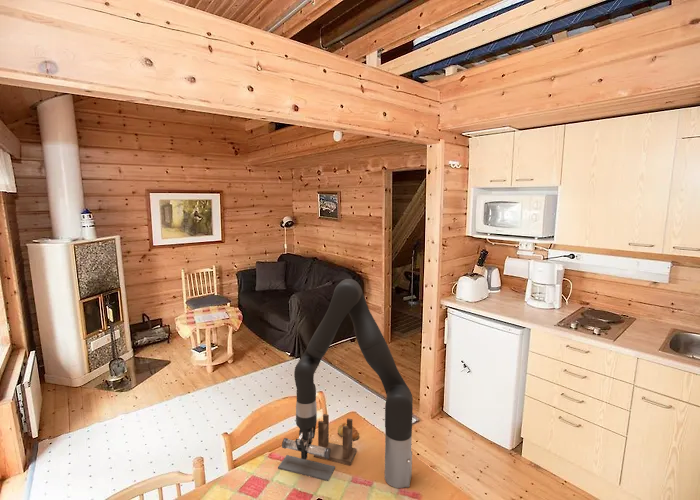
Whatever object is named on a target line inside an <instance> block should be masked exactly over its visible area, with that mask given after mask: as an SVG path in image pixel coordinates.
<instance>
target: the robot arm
mask: <svg viewBox="0 0 700 500" xmlns="http://www.w3.org/2000/svg"><path fill="white" fill-rule="evenodd" d="M347 315H349V317H350V319H351V322H352V325H353V329H354V334H355V338H356V341H357V344H358V347H359V350H360V351H361V353H362V356H363V358H364V360H365V361H366V362H367V364H368V365H369V367H371V369H372V370H373V371H374V372H375V373H376V374H377V376H378V377H379V379H380V382H381V383H382V386H383V388H384V392H385V394H386V397H385V403H384V405H385V407H384V410H385V411H384V427H385V428H384V429H385V437H384V438H385V439H384V440H385V441H384V443H385V445H384V480H385V482H386V483H387V485H389V486H391V487H392V488H394V489H395V488H396V489H397V488H398V489H403V488H410V485H411V479H412V473H413V471H412V470H413V469H412V468H413V466H412V465H413V451H412V439H413V435H412V434H413V433H412V432H413V413H414V412H413V408H414V407H413V393H412V392H411V389H410V388H409V386H408V384H407V383H406V382H405V379H404V378H403V376H402V375H401V373H400V371H399V369H398V367H397V365H396V362H395V360H394V356H393V355H392V352H391V350H390V348H389V346H388V344H387V342H386V339H385V336H384V335H383V333H382V331H381V329H380V327H379V326H378V324H377V321H376V320H375V318H374V316H373V315H372V312H371V311H370V309H369V306H368V303H367V301H366V298H365V295H364V292H363V289H362V287H361V285H360V284H359V282H358V281H356V280H355V279H353V278H345V279H343V280H341V281H340V282H339V283H338V284H336V286H335V288H334V290H333V294H332V297H331V300H330V303H329V306H328V308H327V311H326V312H325V315H324V316H323V318H322V319H321V322H320V323H319V325H318V327H316V330H315V331H314V333H313V335H312V337H311V339H310V340H309V342H308V344H307V347H306V349H305V351H304V352H303V354H302V356H301V357H300V359H299V361H297V364H296V365H295V368H294V375H293V376H294V382H295V383H294V384H295V387H296V403H295V425H296V426H297V427H298V429H299V431H298V435H299V437H298V438H296V439H295V440H294V441H295V443H296V446H297V449H298V451H297V452H300V451H301V452H300V455H301V456H300V458H302V459H305V460H308V453H307V447H308V444H312V443H313V440H314V439H315V435H316V428H317V422H318V420H317V418H318V417H317V413H318V411H317V408H318V406H317V389H316V384H315V383H314V382H315V379H314V377H315V373H316V371H317V369H318V367H319V365H320V363H321V360H322V359H323V357H324V356H325V354H326V353H327V352H328V350H329V349H330V347H331V345H332V342H333V341H334V339H335V336H336V334H337V332H338V330H339V328H340V326H341V324H342V322H343V321H344V319H346V317H347ZM304 444H305V446H304Z"/></svg>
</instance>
